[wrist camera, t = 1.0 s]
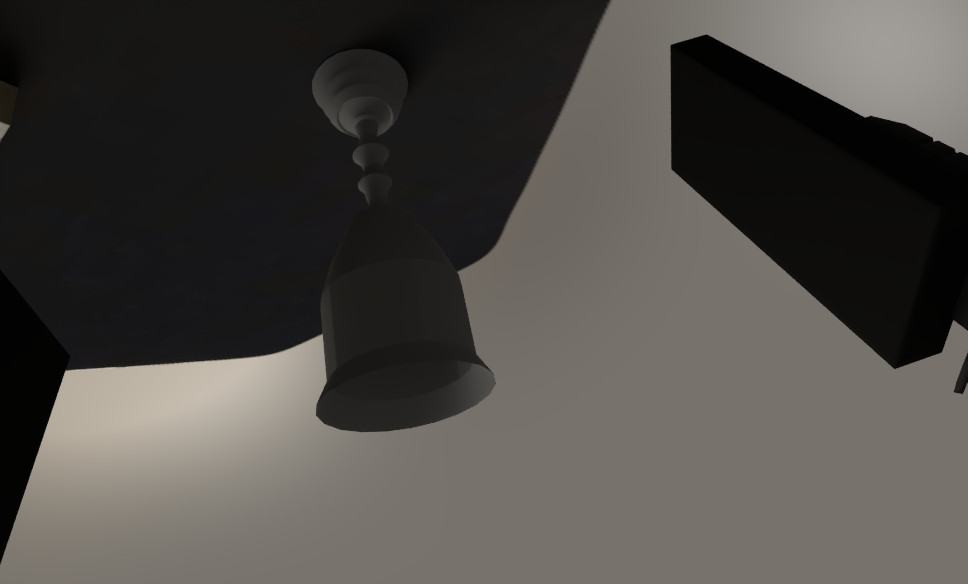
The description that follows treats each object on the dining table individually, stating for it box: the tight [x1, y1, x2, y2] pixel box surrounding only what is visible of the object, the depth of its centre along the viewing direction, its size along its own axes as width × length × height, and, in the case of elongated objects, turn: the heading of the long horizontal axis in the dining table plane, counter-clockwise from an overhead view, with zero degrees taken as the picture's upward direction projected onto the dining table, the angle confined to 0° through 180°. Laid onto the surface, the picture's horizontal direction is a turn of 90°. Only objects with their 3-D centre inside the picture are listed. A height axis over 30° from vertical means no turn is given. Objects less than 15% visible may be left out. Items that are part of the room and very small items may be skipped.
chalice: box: [312, 49, 496, 432], centre depth 31 cm, size 7×7×18 cm
